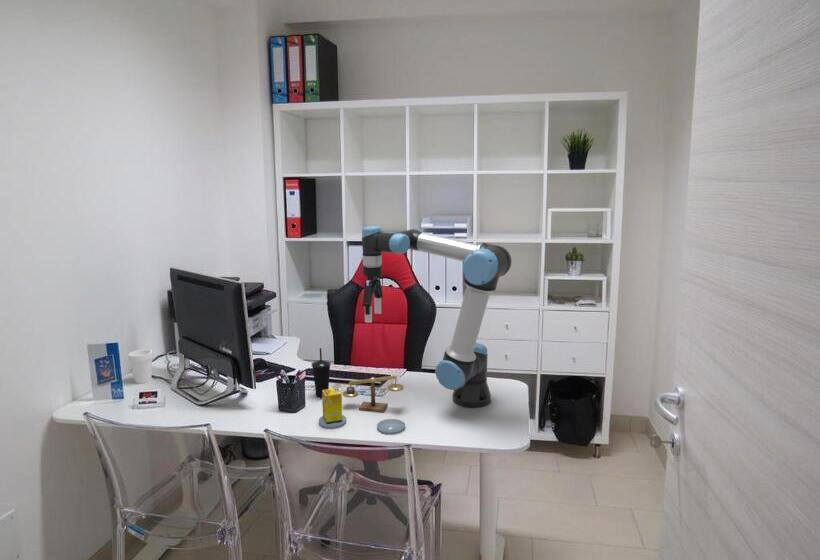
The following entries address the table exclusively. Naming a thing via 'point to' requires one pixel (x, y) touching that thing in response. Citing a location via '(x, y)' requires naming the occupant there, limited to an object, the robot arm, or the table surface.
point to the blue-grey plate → (391, 426)
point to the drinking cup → (321, 375)
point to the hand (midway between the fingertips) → (373, 317)
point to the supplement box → (332, 405)
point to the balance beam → (392, 387)
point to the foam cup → (141, 365)
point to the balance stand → (373, 403)
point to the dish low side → (333, 425)
